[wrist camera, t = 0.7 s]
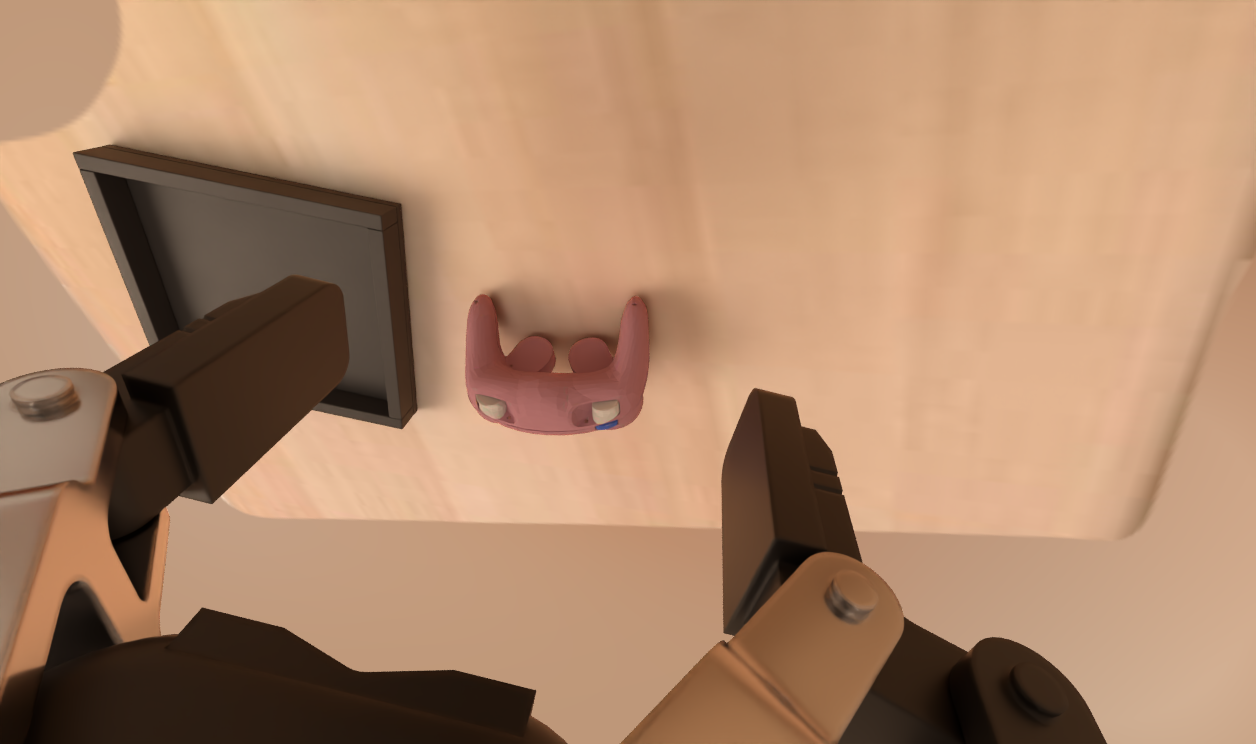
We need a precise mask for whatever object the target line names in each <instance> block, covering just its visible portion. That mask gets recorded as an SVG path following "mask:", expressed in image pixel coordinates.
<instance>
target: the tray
mask: <svg viewBox="0 0 1256 744" xmlns="http://www.w3.org/2000/svg"><path fill="white" fill-rule="evenodd" d="M73 155H74V158H75V160H76V163H77V165H78V168H79V169H80V173H81V175H82V178H83V180H84V183H85V185H86V188H87V190H88V193H89V195H90V198H91V200H92V203H93V205H94V208H95V210H96V213H97V215H98V218H99V220H100V223H101V225H102V228H103V230H104V233H105V235H106V238H107V240H108V243H109V245H110V248H111V250H112V253H113V255H114V258H115V260H116V263H117V265H118V268H119V270H120V273H121V275H122V278H123V280H124V283H125V285H126V288H127V290H128V293H129V295H130V298H131V300H132V303H133V305H134V308H135V310H136V313H137V315H138V318H139V320H140V323H141V325H142V328H143V330H144V333H145V335H146V338H147V340H148V343H149V345H150V346H151V345H152V344H154V343H156V342H158V341H159V340H161V339H163V338H165V337H167V336H168V335H170V334H172V333H174V332H175V331H177V330H180V331H182V330H183V327H184V326H186V325H188V324H190V323H191V322H193V321H195V320H197V319H198V318H200V319H203V318H204V315H206V314H207V313H209V312H211V311H213V310H214V309H216V308H218V307H220V306H222V305H223V304H225V303H227V302H229V301H232V300H236V299H239V298H243V297H246V296H250V295H253V294H257V293H260V292H262V291H264V290H266V289H267V288H269V287H271V286H272V285H274V284H276V283H278V282H279V281H281V280H283V279H284V278H286V277H288V276H290V275H301V276H305V277H309V278H313V279H317V280H321V281H325V282H329V283H333V284H336V285H338V286H339V287H340V288H341V290H342V293H343V297H344V305H345V314H346V324H347V334H348V343H349V354H350V356H349V364H348V368H347V371H346V373H345V375H344V377H343V379H342V380H341V382H340V383H339V384H338V385H337V386H336V387H335V388H334V389H333V390H332V391H331V392H330V393H329V394H328V395H327V396H326V397H325V398H324V399H323V400H321V401H320V402H319V403H318V404H317V405H316V406H315V407H314V408H313V409H312V410H315V411H320V412H324V413H329V414H334V415H338V416H343V417H348V418H352V419H357V420H361V421H366V422H371V423H375V424H380V425H385V426H389V427H394V428H399V429H403V428H404V427H405V425H406V424H407V423H408V421H409V420H410V419H411V417H412V416H413V415H414V414H415V413H416V411H417V404H416V391H415V378H414V366H413V353H412V340H411V328H410V315H409V302H408V290H407V277H406V264H405V252H404V239H403V226H402V213H401V204H398V203H393V202H388V201H383V200H378V199H373V198H368V197H363V196H359V195H354V194H349V193H344V192H339V191H334V190H329V189H324V188H319V187H314V186H310V185H305V184H300V183H295V182H290V181H285V180H280V179H275V178H270V177H265V176H260V175H256V174H251V173H246V172H241V171H236V170H231V169H226V168H221V167H216V166H211V165H207V164H202V163H197V162H192V161H187V160H182V159H177V158H172V157H167V156H162V155H157V154H153V153H148V152H143V151H138V150H133V149H128V148H123V147H118V146H113V145H106V146H102V147H97V148H92V149H87V150H82V151H77V152H73Z"/></svg>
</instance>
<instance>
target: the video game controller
mask: <svg viewBox="0 0 1256 744" xmlns="http://www.w3.org/2000/svg"><path fill="white" fill-rule="evenodd" d="M555 362H556V358H555V355H554V351H553V347H552V345H551V343H550V342H549V341H548V340H547V339H545V338H542V337H538V336H532V337H527V338H525V339H523V340H522V341H521V342H520V343H519V344H518V345H517V346H516V347H515V348H514V349H513V351H512V352H511V353H510V354H509V355H508V356H504V354H503V352H502V349H501V346H500V340H499V330H498V321H497V316H496V311H495V308H494V305H493V303H492V299H491V298H490V297H488V296H487V295H484V294H482V295H479V296H477V297H476V299H475V300H474V301H473V303H472V305H471V307H470V310H469V314H468V320H467V334H466V366H465V377H466V387H467V391H468V397H469V399H470V402H471V403H472V405H473V406H474V408H475V409H476V410H477V412H478V413H479V414H480V415H481V416H482V417H483V418H484V419H486V420H488V421H490V422H494V423H499V424H501V425H503V426H505V427H508V428H511V429H514V430H518V431H521V432H527V433H532V434H541V435H572V434H581V433H588V432H592V431H596V430H605V429H606V430H613V429H619V428H622V427H625V426H627V425H628V424H630V423H631V422H633V421H634V420H635V419H636V418H637V416H638V415H639V413H640V411H641V409H642V405H643V393H644V389H645V385H646V381H647V375H648V368H649V325H648V313H647V309H646V306H645V304H644V302H643V301H642V300H641V298H640V297H637V296H634V297H632V298H631V299H630V300H629V301H628V303H627V305H626V307H625V310H624V313H623V316H622V319H621V326H620V333H619V340H618V346H617V350H616V353H615V356H614V359H613V357H612V356H611V354H610V352H609V349H608V347H607V345H606V344H605V342H604V341H602V340H601V339H598V338H585V339H582V340H579V341H577V342H576V343H575V344H574V345H573V346H572V347H571V349H570V351H569V362H570V366H571V368H572V371H573V373H551V372H552V371H553V368H554V366H555Z"/></svg>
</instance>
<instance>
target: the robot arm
mask: <svg viewBox="0 0 1256 744" xmlns="http://www.w3.org/2000/svg"><path fill="white" fill-rule="evenodd" d="M349 356H350V354H349V343H348V334H347V324H346V314H345V305H344V297H343V293H342V290H341V288H340V287H339V286H338V285H336V284H333V283H329V282H325V281H321V280H317V279H313V278H309V277H305V276H301V275H290V276H288V277H286V278H284V279H283V280H281V281H279V282H278V283H276V284H274V285H272V286H271V287H269V288H267V289H266V290H264V291H262V292H260V293H257V294H253V295H250V296H246V297H243V298H239V299H236V300H232V301H229V302H227V303H225V304H223V305H222V306H220V307H218V308H216V309H214V310H213V311H211V312H209V313H207V314H206V315H204V318H203V319H200V318H198V319H197V320H195V321H193V322H191V323H190V324H188V325H186V326H184V327H183V330H182V331H180V330H177V331H175V332H174V333H172V334H170V335H168V336H167V337H165V338H163V339H161V340H159V341H158V342H156V343H154V344H152V345H151V346H149V347H147V348H145V349H143V350H142V351H140V352H138V353H136V354H135V355H133V356H131V357H129V358H127V359H126V360H124V361H122V362H120V363H119V364H117V365H115V366H113V367H112V368H110V369H108V370H106V371H104V372H100V371H96V370H92V369H84V368H60V369H51V370H44V371H39V372H34V373H30V374H26V375H23V376H19V377H16V378H13V379H10V380H8V381H6V382H3V383H1V384H0V744H567V743H566V742H565V740H564V739H562V738H561V737H560V736H559V735H558V734H556V733H555V732H554V731H553V730H552V729H550V728H549V727H548V726H547V725H545V724H543V723H542V722H540V721H538V720H537V719H535V718H534V717H532V716H531V713H532V708H533V704H534V699H535V694H536V690H532V689H528V688H524V687H520V686H516V685H512V684H508V683H504V682H500V681H496V680H492V679H488V678H484V677H480V676H476V675H472V674H468V673H464V672H460V671H455V670H440V671H439V670H436V671H398V672H397V671H396V672H359V671H355V670H352V669H350V668H348V667H346V666H345V665H343V664H341V663H340V662H338V661H337V660H335V659H333V658H332V657H330V656H329V655H327V654H325V653H324V652H322V651H320V650H319V649H317V648H316V647H314V646H312V645H311V644H309V643H308V642H306V641H304V640H303V639H301V638H299V637H298V636H296V635H295V634H293V633H291V632H290V631H288V630H287V629H285V628H282V627H278V626H274V625H270V624H266V623H262V622H258V621H254V620H250V619H246V618H242V617H238V616H234V615H230V614H226V613H222V612H218V611H214V610H210V609H206V608H201V609H200V611H199V612H198V613H197V614H196V615H195V616H194V617H193V618H192V620H191V621H190V622H189V623H188V624H187V625H186V626H185V628H184V629H183V630H182V631H181V632H180V633H179V634H171V635H163V636H161V632H160V620H159V619H160V606H161V597H162V588H163V580H164V571H165V562H166V552H167V544H168V535H169V526H170V516H169V514H168V511H167V508H166V506H168V505H169V504H170V503H171V502H172V501H173V500H174V499H175V498H177V497H178V496H181V497H185V498H189V499H193V500H197V501H201V502H205V503H209V504H213V503H214V502H215V501H216V500H217V499H218V498H219V497H220V496H221V495H222V494H223V493H224V492H225V491H227V490H228V489H229V488H230V487H231V486H232V485H233V484H234V483H235V482H236V481H237V480H238V479H239V478H240V477H241V476H242V475H243V474H244V473H246V472H247V471H248V470H249V469H250V468H251V467H252V466H253V465H254V464H255V463H256V462H257V461H258V460H259V459H260V458H261V457H262V456H263V455H264V454H266V453H267V452H268V451H269V450H270V449H271V448H272V447H273V446H274V445H275V444H276V443H277V442H278V441H279V440H280V439H281V438H282V437H283V436H285V435H286V434H287V433H288V432H289V431H290V430H291V429H292V428H293V427H294V426H295V425H296V424H297V423H298V422H299V421H300V420H301V419H302V418H304V417H305V416H306V415H307V414H308V413H309V412H310V411H311V410H312V409H313V408H314V407H315V406H316V405H317V404H318V403H319V402H320V401H321V400H323V399H324V398H325V397H326V396H327V395H328V394H329V393H330V392H331V391H332V390H333V389H334V388H335V387H336V386H337V385H338V384H339V383H340V382H341V380H342V379H343V377H344V375H345V373H346V371H347V368H348V364H349ZM837 473H838V472H837V468H836V465H835V461H834V457H833V454H832V451H831V449H830V448H829V447H828V446H827V444H826V443H825V442H824V440H823V439H822V438H821V436H820V435H819V434H818V432H817V431H816V430H814V429H809V428H805V427H801V424H800V419H799V414H798V410H797V405H796V401H795V399H794V398H793V397H790V396H786V395H781V394H777V393H773V392H769V391H765V390H761V389H757V388H754V389H753V390H752V392H751V393H750V395H749V397H748V399H747V402H746V404H745V407H744V409H743V412H742V414H741V417H740V419H739V422H738V424H737V427H736V429H735V431H734V434H733V436H732V439H731V441H730V444H729V446H728V449H727V452H726V455H725V459H724V464H723V469H722V480H721V483H722V550H723V553H722V554H723V620H724V621H723V622H724V623H723V624H724V633H725V634H730V635H733V636H734V637H733V638H732V639H731V640H730V641H729V642H728V643H726V642H725V641H720V642H719V643H717V644H716V645H715V646H714V647H713V648H712V649H711V650H710V651H709V652H708V653H707V654H706V655H705V656H704V657H703V658H702V659H701V660H700V661H699V662H698V663H697V664H696V665H695V666H694V667H693V668H692V669H691V670H690V671H689V672H688V674H687V675H685V676H684V678H683V679H682V680H681V681H680V682H679V683H678V684H677V685H676V686H675V687H674V688H673V689H672V690H671V691H670V692H669V693H668V694H667V695H666V696H665V697H664V698H663V700H662V701H661V702H660V703H659V704H658V705H657V706H656V707H655V708H654V709H653V710H652V711H651V712H650V713H649V714H648V715H647V716H646V717H645V718H644V719H643V720H642V721H641V722H640V723H639V725H638V726H637V727H636V728H635V729H634V730H633V731H632V732H631V733H630V734H629V735H628V736H627V737H626V738H625V739H624V740H623V741H622V742H621V743H620V744H1107V743H1106V741H1105V739H1104V737H1103V735H1102V733H1101V731H1100V729H1099V727H1098V725H1097V723H1096V721H1095V719H1094V717H1093V715H1092V713H1091V711H1090V709H1089V707H1088V706H1087V704H1086V702H1085V701H1084V699H1083V698H1082V696H1081V695H1080V693H1079V692H1078V691H1077V689H1076V688H1075V687H1074V686H1073V685H1072V683H1071V682H1070V681H1069V680H1068V679H1067V678H1066V677H1065V676H1064V675H1063V674H1062V673H1061V672H1060V671H1059V670H1058V669H1057V668H1056V667H1055V666H1053V665H1052V664H1051V663H1050V662H1049V661H1047V660H1046V659H1045V658H1043V657H1042V656H1041V655H1039V654H1038V653H1036V652H1034V651H1033V650H1031V649H1029V648H1028V647H1026V646H1024V645H1021V644H1019V643H1017V642H1014V641H1011V640H1008V639H1004V638H996V637H992V638H985V639H983V640H981V641H979V642H978V643H977V644H976V645H975V646H974V647H973V648H972V649H971V650H970V651H969V652H967V651H965V650H963V649H961V648H959V647H957V646H955V645H954V644H952V643H950V642H948V641H946V640H944V639H942V638H940V637H938V636H937V635H935V634H933V633H931V632H929V631H927V630H925V629H923V628H921V627H920V626H918V625H916V624H914V623H913V622H911V621H909V620H908V619H906V618H905V617H904V615H903V611H902V608H901V606H900V604H899V601H898V599H897V597H896V596H895V594H894V592H893V591H892V589H891V588H890V587H889V586H888V584H887V583H886V582H885V581H884V580H883V579H882V578H881V577H880V576H879V575H878V574H876V572H874V571H873V570H872V569H871V568H869V567H868V566H866V565H865V564H863V563H862V559H861V555H860V552H859V548H858V544H857V541H856V537H855V534H854V530H853V526H852V523H851V519H850V515H849V512H848V508H847V505H846V501H845V497H844V495H842V491H843V490H842V486H841V483H840V479H839V477H837Z"/></svg>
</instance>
